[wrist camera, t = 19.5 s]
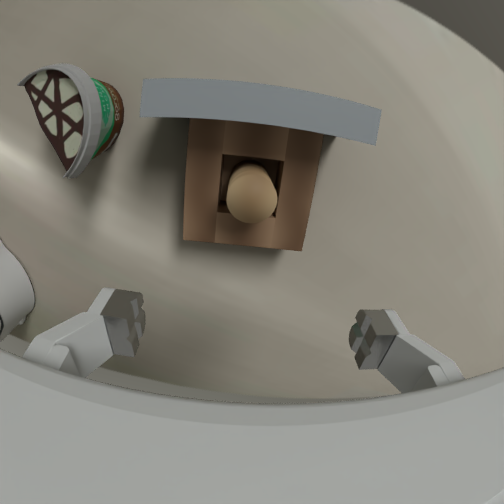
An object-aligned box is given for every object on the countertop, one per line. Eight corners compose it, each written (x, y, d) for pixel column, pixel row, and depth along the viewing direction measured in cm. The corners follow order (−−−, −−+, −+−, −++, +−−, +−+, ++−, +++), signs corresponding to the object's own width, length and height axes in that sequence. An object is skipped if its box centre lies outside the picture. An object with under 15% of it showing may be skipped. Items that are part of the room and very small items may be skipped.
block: (191, 221, 33) (182, 239, 28) (198, 116, 27) (189, 116, 23) (293, 231, 34) (301, 251, 29) (311, 130, 28) (323, 133, 24)
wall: (171, 115, 27) (139, 117, 18) (174, 89, 26) (143, 79, 17) (337, 135, 29) (375, 145, 20) (341, 109, 27) (381, 109, 18)
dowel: (228, 194, 30) (224, 221, 23) (231, 158, 28) (228, 172, 21) (265, 198, 31) (273, 225, 23) (270, 161, 29) (280, 178, 22)
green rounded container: (152, 132, 28) (115, 141, 19) (111, 161, 29) (65, 183, 20) (106, 50, 23) (59, 34, 14) (68, 82, 24) (15, 81, 15)
